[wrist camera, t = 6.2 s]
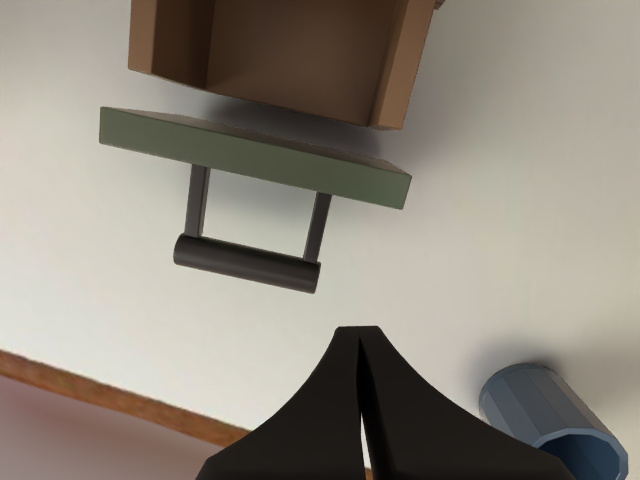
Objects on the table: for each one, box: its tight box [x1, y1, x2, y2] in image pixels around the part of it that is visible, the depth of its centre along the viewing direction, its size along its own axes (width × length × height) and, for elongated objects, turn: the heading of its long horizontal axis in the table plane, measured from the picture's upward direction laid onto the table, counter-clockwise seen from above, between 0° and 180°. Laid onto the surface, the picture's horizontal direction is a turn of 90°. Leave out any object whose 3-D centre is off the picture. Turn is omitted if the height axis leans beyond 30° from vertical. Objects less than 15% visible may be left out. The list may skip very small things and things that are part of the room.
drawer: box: [99, 0, 436, 294], centre depth 14 cm, size 17×10×6 cm, turn 168°
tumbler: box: [479, 364, 628, 480], centre depth 20 cm, size 5×5×5 cm
